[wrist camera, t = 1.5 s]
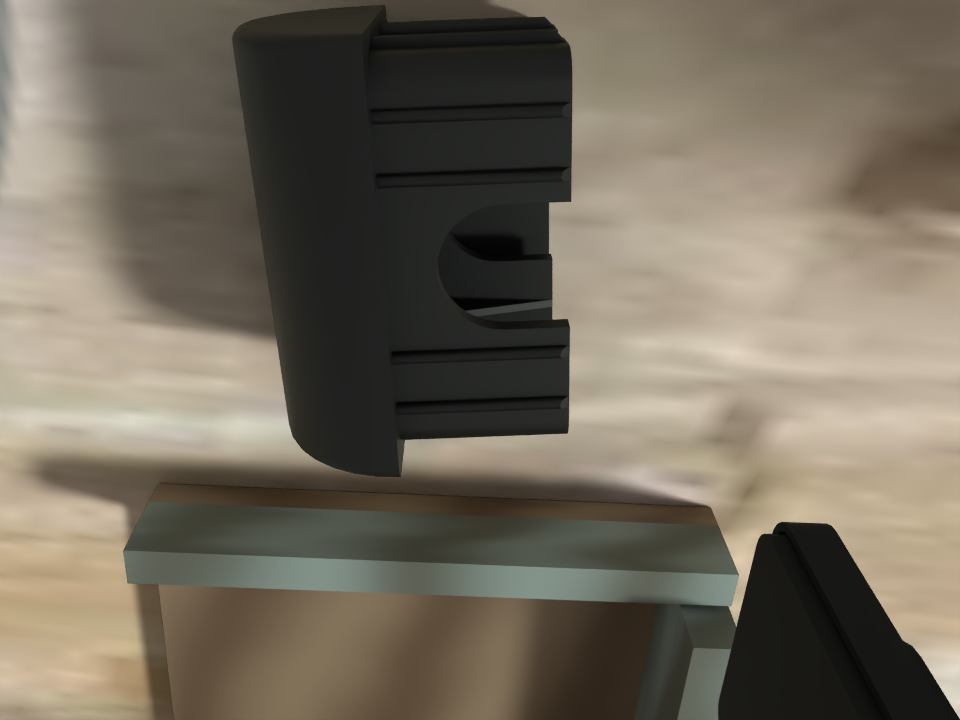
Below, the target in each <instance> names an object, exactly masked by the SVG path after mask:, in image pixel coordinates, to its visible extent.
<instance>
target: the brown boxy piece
mask: <svg viewBox="0 0 960 720" xmlns="http://www.w3.org/2000/svg"><path fill="white" fill-rule="evenodd" d="M123 553H124V560H125V568H126V575H127V582H128V583H132V584H158V587H159V595H160V604H161V613H162V621H163V630H164V639H165V647H166V656H167V665H168V673H169V682H170V691H171V699H172V708H173V717H174V720H718V702H719V697H720V692H721V688H722V684H723V680H724V676H725V672H726V668H727V664H728V660H729V656H730V652H731V648H732V644H733V640H734V635H735V631H736V625H735V623H734V620H733V618H732V615H731V612H730V610H729V607H728V606H732V602H733V598H734V593H735V589H736V585H737V581H738V577H739V574H738V571H737V569H736V567H735V564H734V562H733V560H732V557H731V555H730V552H729V550H728V548H727V545H726V543H725V540H724V538H723V536H722V533H721V531H720V528H719V526H718V524H717V521H716V519H715V516H714V514H713V512H712V509H711V507H690V506H666V505H643V504H620V503H597V502H574V501H551V500H528V499H504V498H481V497H458V496H435V495H412V494H389V493H366V492H343V491H319V490H296V489H273V488H250V487H227V486H204V485H181V484H158V485H157V487H156V489H155V491H154V493H153V494H152V496H151V498H150V500H149V502H148V504H147V506H146V508H145V510H144V512H143V514H142V516H141V517H140V519H139V521H138V523H137V525H136V527H135V529H134V531H133V533H132V535H131V537H130V539H129V540H128V542H127V544H126V546H125V548H124V550H123Z"/></svg>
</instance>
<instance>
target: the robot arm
mask: <svg viewBox="0 0 960 720" xmlns="http://www.w3.org/2000/svg"><path fill="white" fill-rule="evenodd" d="M718 720H960V719H959V717H958V716H957V714H956V713H955V711H954V709H953V708H952V706H951V704H950V703H949V701H948V700H947V698H946V696H945V695H944V693H943V692H942V690H941V688H940V687H939V685H938V684H937V682H936V680H935V679H934V677H933V675H932V674H931V672H930V671H929V669H928V667H927V666H926V664H925V663H924V661H923V659H922V658H921V656H920V655H919V654H918V653H917V651H916V650H915V649H914V648H913V646H911V645H909V644H908V643H906V642H904V641H903V640H902V639H901V637H900V635H899V634H898V632H897V630H896V629H895V627H894V626H893V624H892V622H891V621H890V619H889V617H888V616H887V614H886V612H885V611H884V609H883V607H882V606H881V604H880V603H879V601H878V599H877V598H876V596H875V594H874V593H873V591H872V589H871V588H870V586H869V585H868V583H867V581H866V580H865V578H864V576H863V575H862V573H861V571H860V570H859V568H858V566H857V565H856V563H855V562H854V560H853V558H852V557H851V555H850V553H849V552H848V550H847V548H846V547H845V545H844V543H843V542H842V540H841V539H840V537H839V535H838V534H837V532H836V531H835V529H834V528H833V527H832V526H831V525H828V524H822V523H795V522H781V523H778V524H777V525H776V527H775V528H774V530H773V533H772V534H763V535H761V536H760V538H759V540H758V543H757V546H756V550H755V554H754V558H753V562H752V566H751V570H750V574H749V578H748V582H747V587H746V591H745V595H744V599H743V603H742V607H741V611H740V615H739V619H738V623H737V627H736V631H735V635H734V640H733V644H732V648H731V652H730V656H729V660H728V664H727V668H726V672H725V676H724V680H723V684H722V688H721V692H720V697H719V702H718Z"/></svg>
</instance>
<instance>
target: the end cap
mask: <svg viewBox="0 0 960 720" xmlns="http://www.w3.org/2000/svg"><path fill="white" fill-rule="evenodd" d="M232 42H233V49H234V55H235V62H236V69H237V76H238V82H239V89H240V96H241V103H242V109H243V116H244V123H245V130H246V136H247V143H248V150H249V157H250V163H251V170H252V177H253V184H254V190H255V197H256V204H257V211H258V217H259V224H260V231H261V238H262V244H263V251H264V258H265V265H266V271H267V278H268V285H269V292H270V298H271V305H272V312H273V319H274V325H275V332H276V339H277V346H278V352H279V359H280V366H281V373H282V379H283V386H284V393H285V400H286V406H287V413H288V420H289V425H290V429H291V432H292V435H293V438H294V439H295V440H296V442H297V443H298V444H299V446H300V447H301V448H302V449H303V450H304V451H305V452H306V453H308V454H309V455H310V456H312V457H313V458H314V459H316V460H318V461H320V462H322V463H324V464H326V465H329V466H331V467H333V468H336V469H339V470H343V471H347V472H350V473H354V474H361V475H369V476H376V477H401V471H402V461H403V452H404V443H405V440H412V439H437V438H463V437H489V436H514V435H540V434H566V433H568V427H569V352H570V326H569V322H568V319H559V320H552V256H551V254H549V202H571V161H572V58H571V50H570V46H569V44H568V43H567V41H566V40H565V39H564V38H562V37H561V36H560V35H559V34H558V30H557V28H556V27H555V26H554V25H553V24H551V23H550V22H549V21H548V20H547V19H546V18H545V17H530V18H525V17H515V18H489V19H462V20H436V21H410V22H389V23H387V17H386V8H385V5H379V6H359V7H344V8H332V9H320V10H311V11H301V12H294V13H287V14H280V15H274V16H269V17H263V18H259V19H255V20H251V21H249V22H246V23H244V24H242V25H240V26H239V27H238V28H237V29H236V31H235V32H234V34H233V39H232Z"/></svg>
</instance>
